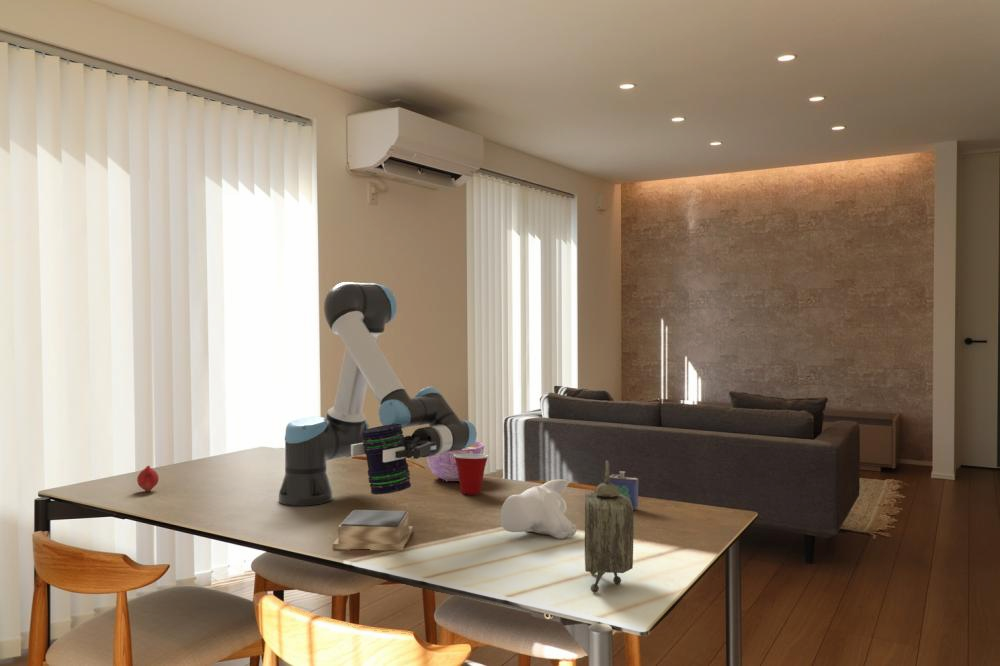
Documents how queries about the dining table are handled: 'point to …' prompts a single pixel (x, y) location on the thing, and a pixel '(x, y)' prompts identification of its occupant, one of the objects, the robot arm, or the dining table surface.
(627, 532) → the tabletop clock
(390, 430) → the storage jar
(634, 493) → the flask
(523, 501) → the fox head
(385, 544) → the plinth
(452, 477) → the bowl of food
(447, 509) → the dining table surface
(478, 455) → the plastic cup
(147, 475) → the onion
